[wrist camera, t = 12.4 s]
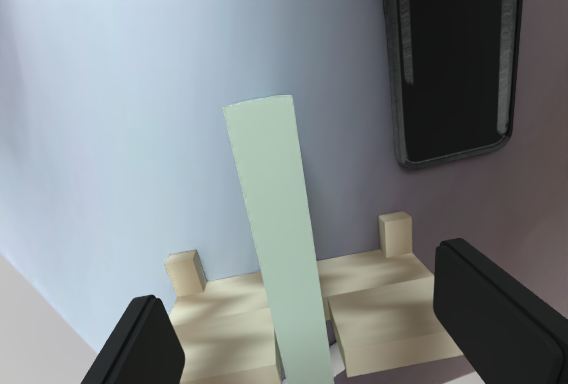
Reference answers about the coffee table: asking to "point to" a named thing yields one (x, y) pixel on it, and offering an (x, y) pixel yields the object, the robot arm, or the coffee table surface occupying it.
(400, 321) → the slotted wooden stand
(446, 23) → the phone
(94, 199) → the coffee table surface
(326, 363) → the mint green slab
